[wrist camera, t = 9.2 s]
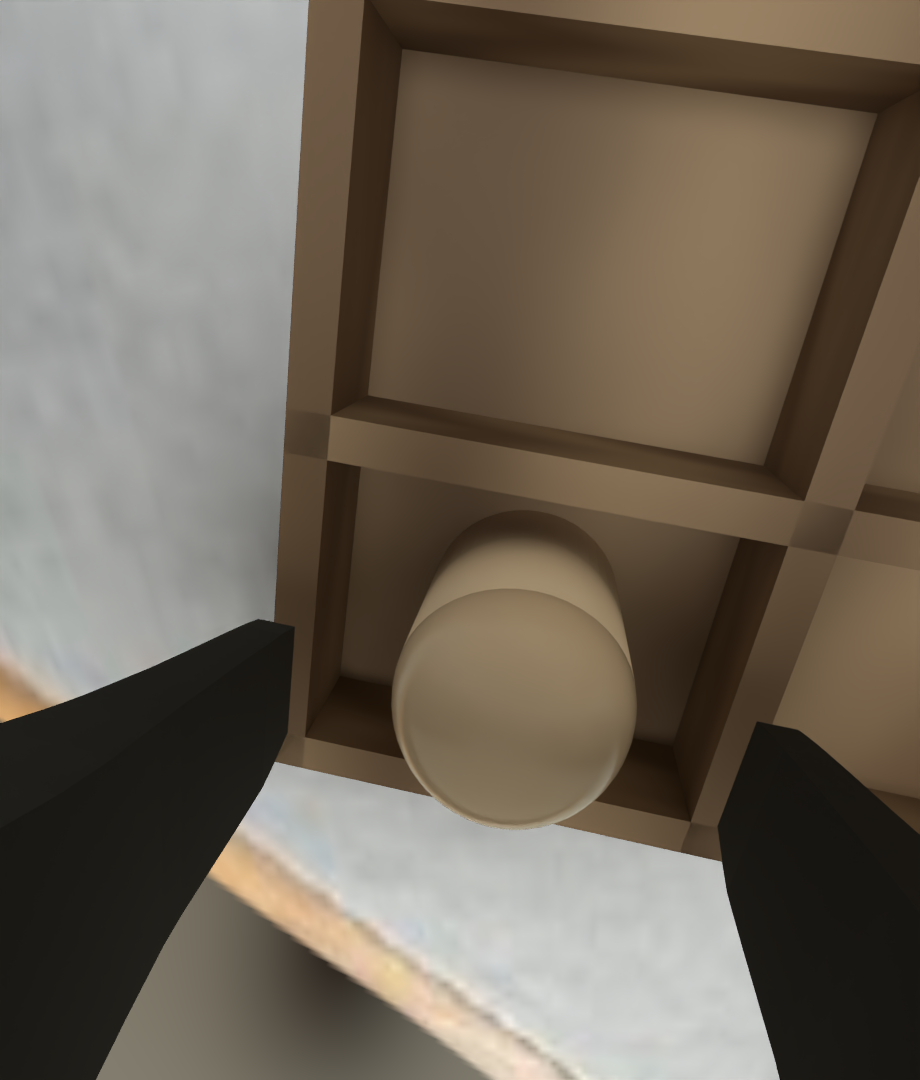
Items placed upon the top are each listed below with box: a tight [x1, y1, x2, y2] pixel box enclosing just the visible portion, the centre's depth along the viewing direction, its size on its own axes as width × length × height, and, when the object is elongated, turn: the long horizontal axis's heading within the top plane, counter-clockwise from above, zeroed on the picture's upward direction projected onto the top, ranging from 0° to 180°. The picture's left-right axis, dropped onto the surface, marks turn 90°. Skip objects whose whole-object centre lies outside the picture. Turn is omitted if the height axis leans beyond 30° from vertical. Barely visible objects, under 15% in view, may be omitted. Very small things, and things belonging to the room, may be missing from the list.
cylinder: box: [391, 510, 637, 830], centre depth 12 cm, size 4×4×6 cm
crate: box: [274, 0, 920, 862], centre depth 13 cm, size 18×14×3 cm
